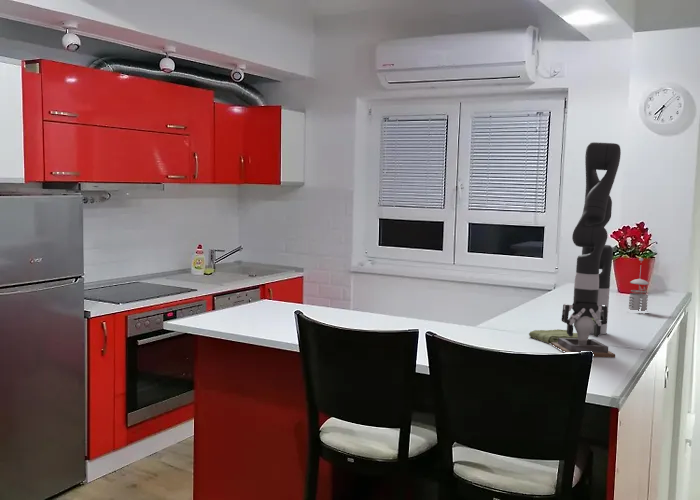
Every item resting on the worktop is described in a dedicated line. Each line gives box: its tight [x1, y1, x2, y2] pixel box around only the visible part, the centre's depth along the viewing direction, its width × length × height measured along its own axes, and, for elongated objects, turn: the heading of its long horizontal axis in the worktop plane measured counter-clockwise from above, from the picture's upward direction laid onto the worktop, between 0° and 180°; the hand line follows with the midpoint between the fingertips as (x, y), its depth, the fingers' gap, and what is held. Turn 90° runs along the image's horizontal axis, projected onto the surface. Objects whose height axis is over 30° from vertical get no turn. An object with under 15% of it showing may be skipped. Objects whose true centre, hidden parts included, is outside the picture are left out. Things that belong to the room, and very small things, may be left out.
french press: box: [628, 257, 650, 311], centre depth 316 cm, size 10×12×25 cm
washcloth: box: [528, 329, 578, 344], centre depth 244 cm, size 13×18×3 cm
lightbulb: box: [573, 316, 594, 345], centre depth 226 cm, size 6×6×11 cm
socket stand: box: [550, 338, 616, 358], centre depth 226 cm, size 16×15×3 cm
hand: (583, 336), depth 226 cm, fingers open, 8 cm apart
